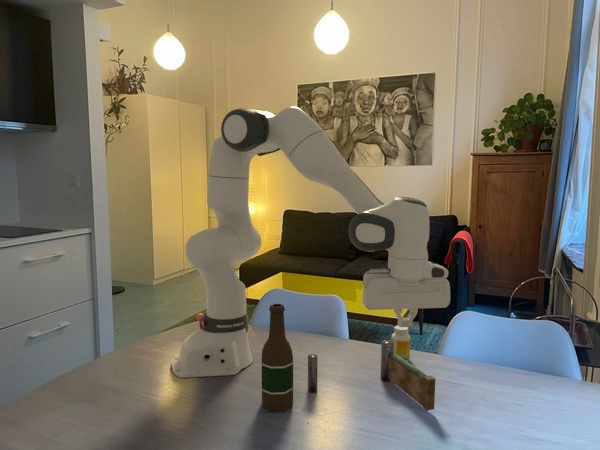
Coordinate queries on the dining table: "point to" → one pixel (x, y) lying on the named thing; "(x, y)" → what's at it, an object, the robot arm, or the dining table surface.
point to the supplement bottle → (401, 342)
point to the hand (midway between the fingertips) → (404, 326)
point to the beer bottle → (277, 365)
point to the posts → (386, 348)
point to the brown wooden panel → (412, 381)
